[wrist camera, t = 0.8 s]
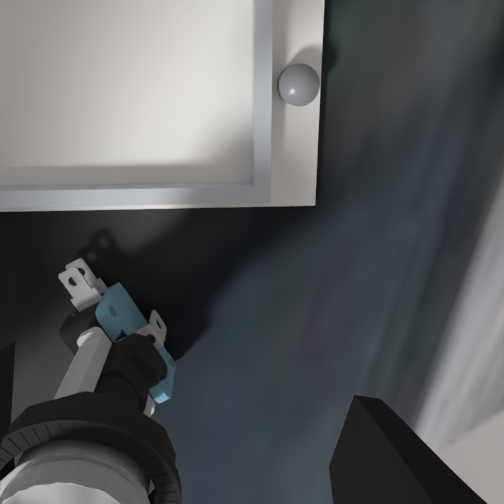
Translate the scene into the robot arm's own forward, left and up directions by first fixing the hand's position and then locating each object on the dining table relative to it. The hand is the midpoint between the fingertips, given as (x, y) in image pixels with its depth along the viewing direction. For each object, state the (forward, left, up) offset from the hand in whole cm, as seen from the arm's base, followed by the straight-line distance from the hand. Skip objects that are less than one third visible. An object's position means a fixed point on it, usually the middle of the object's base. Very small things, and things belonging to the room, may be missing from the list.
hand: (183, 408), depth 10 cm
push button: (-3, -3, -10) cm, 11 cm away
